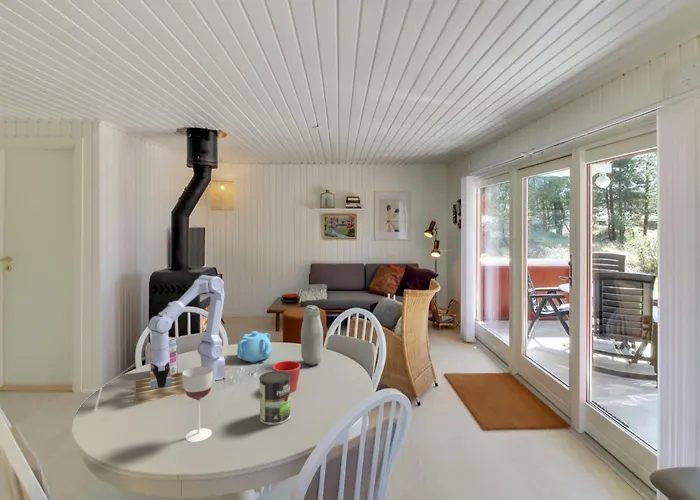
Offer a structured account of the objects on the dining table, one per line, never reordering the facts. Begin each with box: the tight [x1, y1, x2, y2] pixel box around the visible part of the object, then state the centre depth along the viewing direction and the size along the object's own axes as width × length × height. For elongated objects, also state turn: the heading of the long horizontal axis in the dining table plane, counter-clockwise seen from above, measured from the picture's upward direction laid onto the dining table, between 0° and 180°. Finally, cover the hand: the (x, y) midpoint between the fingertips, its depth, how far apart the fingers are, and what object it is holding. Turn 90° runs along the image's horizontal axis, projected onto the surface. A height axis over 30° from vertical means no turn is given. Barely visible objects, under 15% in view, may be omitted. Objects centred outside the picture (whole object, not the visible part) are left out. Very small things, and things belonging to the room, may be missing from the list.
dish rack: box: [133, 371, 186, 404], centre depth 142 cm, size 18×16×4 cm
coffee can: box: [258, 370, 291, 426], centre depth 123 cm, size 10×10×14 cm
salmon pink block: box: [149, 371, 170, 382], centre depth 146 cm, size 7×2×6 cm, turn 120°
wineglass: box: [182, 366, 213, 443], centre depth 112 cm, size 8×9×20 cm
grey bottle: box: [300, 304, 324, 366], centre depth 173 cm, size 10×10×28 cm
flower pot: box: [272, 360, 301, 394], centre depth 145 cm, size 11×11×10 cm
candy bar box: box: [149, 336, 179, 374], centre depth 159 cm, size 11×5×16 cm, turn 68°
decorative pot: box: [236, 330, 273, 364], centre depth 180 cm, size 16×16×14 cm
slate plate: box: [151, 376, 172, 390], centre depth 138 cm, size 7×2×6 cm, turn 119°
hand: (161, 383), depth 138 cm, fingers open, 7 cm apart
